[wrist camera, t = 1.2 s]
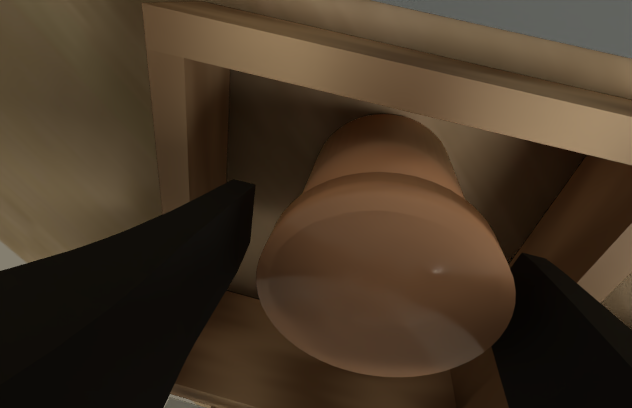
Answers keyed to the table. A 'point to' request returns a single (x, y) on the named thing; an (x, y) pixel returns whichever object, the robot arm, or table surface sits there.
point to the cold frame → (396, 92)
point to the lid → (180, 404)
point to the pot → (385, 258)
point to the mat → (544, 19)
